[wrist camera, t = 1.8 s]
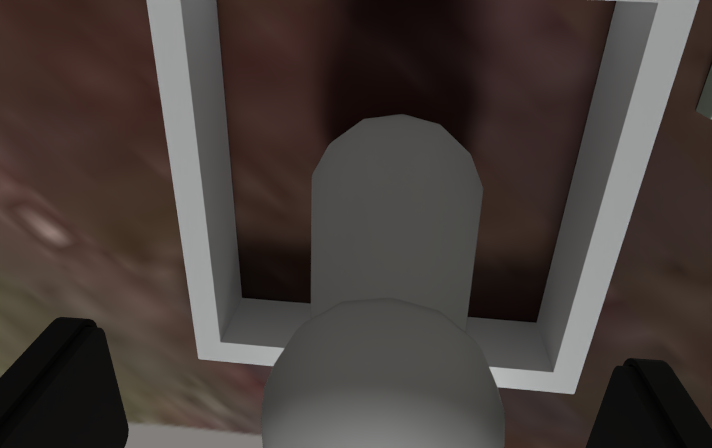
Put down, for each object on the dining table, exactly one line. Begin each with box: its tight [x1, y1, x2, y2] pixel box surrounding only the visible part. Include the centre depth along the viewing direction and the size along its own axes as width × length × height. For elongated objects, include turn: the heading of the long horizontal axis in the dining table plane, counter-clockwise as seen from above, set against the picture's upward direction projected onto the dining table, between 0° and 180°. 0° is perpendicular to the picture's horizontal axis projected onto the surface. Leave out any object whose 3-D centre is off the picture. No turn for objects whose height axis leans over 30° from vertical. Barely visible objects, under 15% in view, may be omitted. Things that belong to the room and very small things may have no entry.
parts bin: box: [147, 0, 699, 394], centre depth 18 cm, size 15×15×3 cm
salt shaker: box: [261, 114, 505, 448], centre depth 14 cm, size 6×6×13 cm
